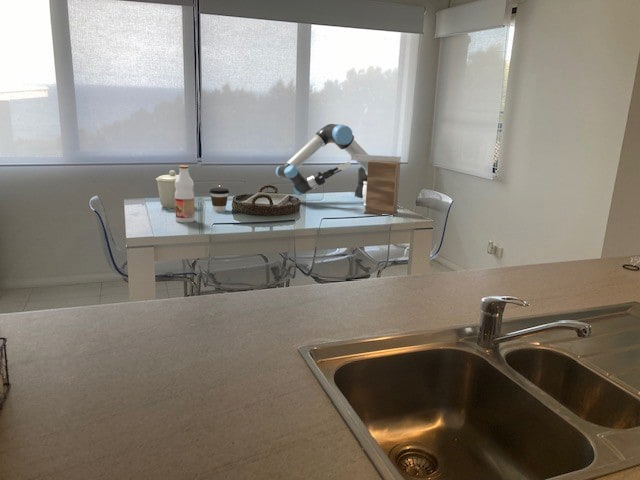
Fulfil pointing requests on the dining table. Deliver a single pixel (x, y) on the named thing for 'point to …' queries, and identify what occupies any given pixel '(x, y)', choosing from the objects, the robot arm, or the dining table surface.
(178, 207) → the fruit juice
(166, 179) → the canister
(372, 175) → the walnut tower
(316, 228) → the dining table surface
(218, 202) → the coffee cup
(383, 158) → the steel bar
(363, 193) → the jar
